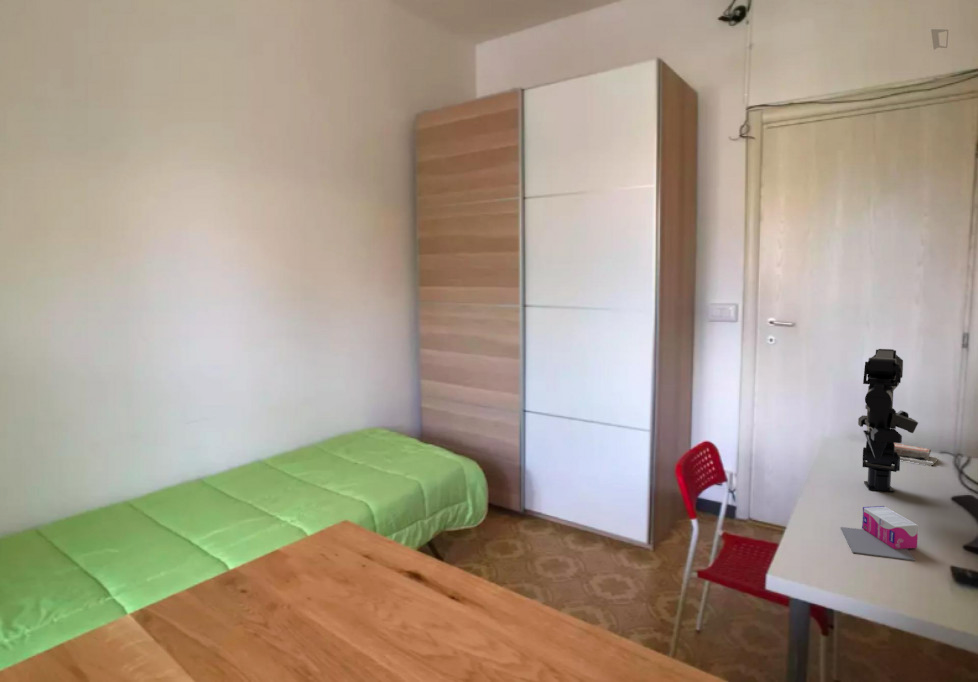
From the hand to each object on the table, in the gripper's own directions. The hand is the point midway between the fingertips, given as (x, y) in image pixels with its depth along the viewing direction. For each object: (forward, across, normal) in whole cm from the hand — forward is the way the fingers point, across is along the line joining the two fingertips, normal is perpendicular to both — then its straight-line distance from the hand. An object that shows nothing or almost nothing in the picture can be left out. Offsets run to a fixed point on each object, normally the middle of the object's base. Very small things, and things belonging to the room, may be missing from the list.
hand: (877, 458), depth 159 cm
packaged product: (+14, +48, -19) cm, 54 cm away
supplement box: (+10, -18, +5) cm, 21 cm away
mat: (+13, -27, +6) cm, 31 cm away
